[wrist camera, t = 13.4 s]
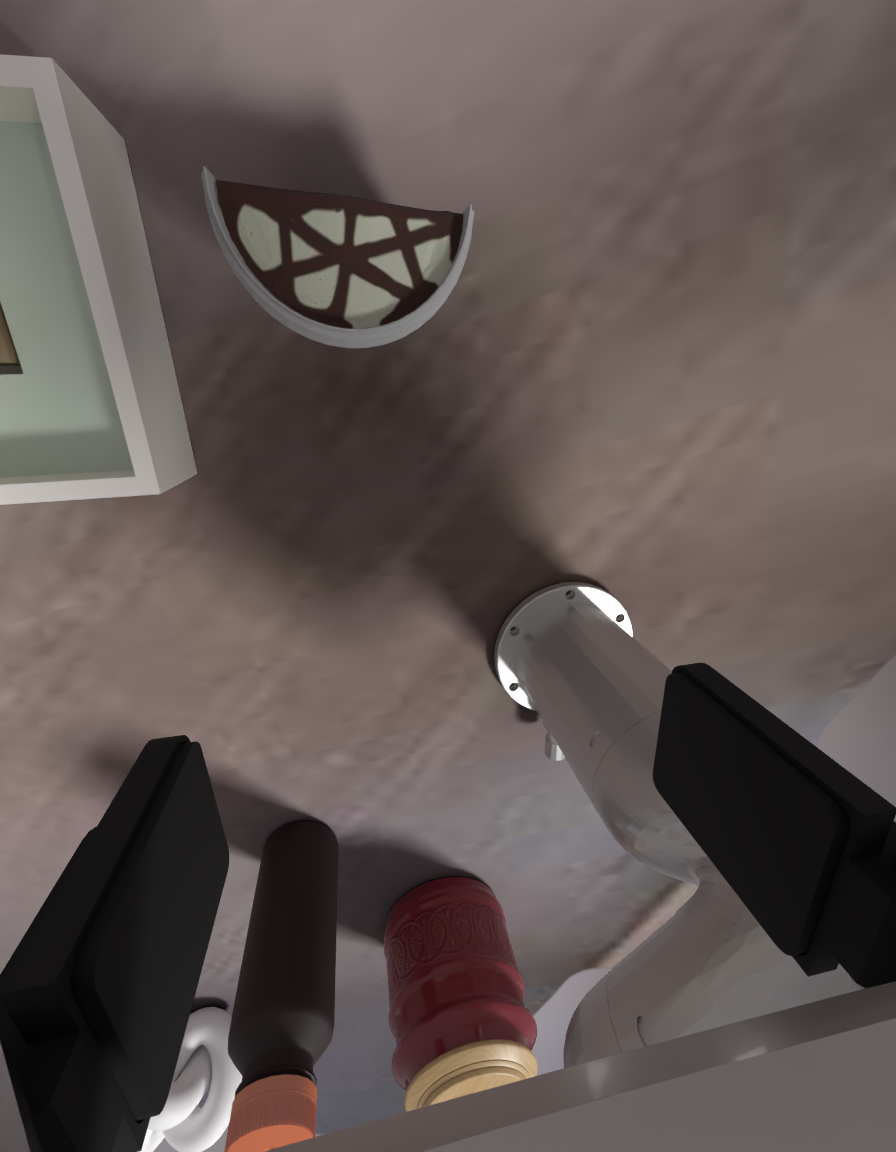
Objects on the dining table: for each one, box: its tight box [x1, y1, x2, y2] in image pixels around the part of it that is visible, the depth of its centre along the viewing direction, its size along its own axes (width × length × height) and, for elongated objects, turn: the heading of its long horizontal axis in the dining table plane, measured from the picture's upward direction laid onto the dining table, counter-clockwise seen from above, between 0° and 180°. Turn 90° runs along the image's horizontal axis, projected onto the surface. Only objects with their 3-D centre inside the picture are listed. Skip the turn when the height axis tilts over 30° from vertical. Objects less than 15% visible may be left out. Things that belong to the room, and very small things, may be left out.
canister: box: [384, 877, 538, 1112], centre depth 45 cm, size 13×13×18 cm
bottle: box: [225, 821, 338, 1152], centre depth 37 cm, size 7×7×20 cm
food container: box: [201, 166, 474, 348], centre depth 26 cm, size 12×6×10 cm, turn 87°
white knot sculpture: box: [139, 1007, 242, 1152], centre depth 48 cm, size 11×12×9 cm
